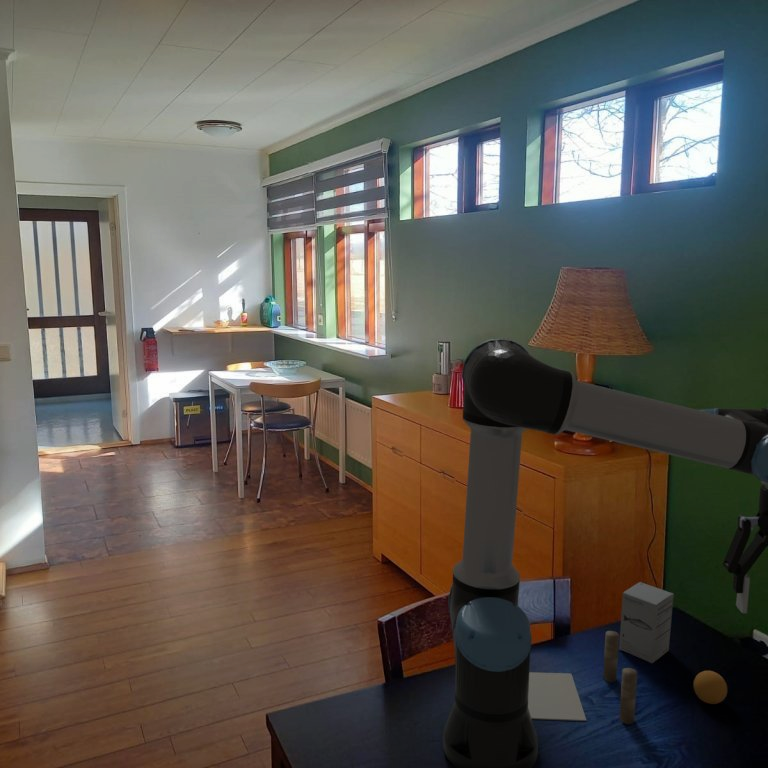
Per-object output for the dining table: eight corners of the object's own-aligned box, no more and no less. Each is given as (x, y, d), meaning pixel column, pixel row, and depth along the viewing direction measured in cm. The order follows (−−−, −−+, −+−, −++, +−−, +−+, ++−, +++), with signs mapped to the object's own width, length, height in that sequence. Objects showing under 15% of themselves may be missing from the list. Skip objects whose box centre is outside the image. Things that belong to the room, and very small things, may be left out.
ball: (698, 710, 130) (701, 681, 129) (688, 691, 135) (690, 664, 134) (731, 711, 129) (733, 682, 128) (719, 692, 135) (721, 664, 134)
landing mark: (503, 718, 128) (503, 717, 128) (496, 672, 141) (496, 671, 141) (586, 721, 127) (586, 719, 127) (571, 674, 141) (571, 673, 140)
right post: (621, 723, 126) (624, 675, 124) (617, 715, 128) (620, 667, 127) (635, 724, 126) (638, 676, 124) (632, 715, 128) (635, 668, 127)
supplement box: (617, 650, 149) (621, 591, 147) (636, 637, 154) (640, 580, 152) (652, 665, 144) (656, 604, 141) (670, 651, 149) (674, 592, 146)
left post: (604, 681, 138) (607, 637, 137) (601, 674, 141) (604, 630, 139) (617, 682, 138) (620, 637, 136) (614, 674, 140) (617, 631, 139)
